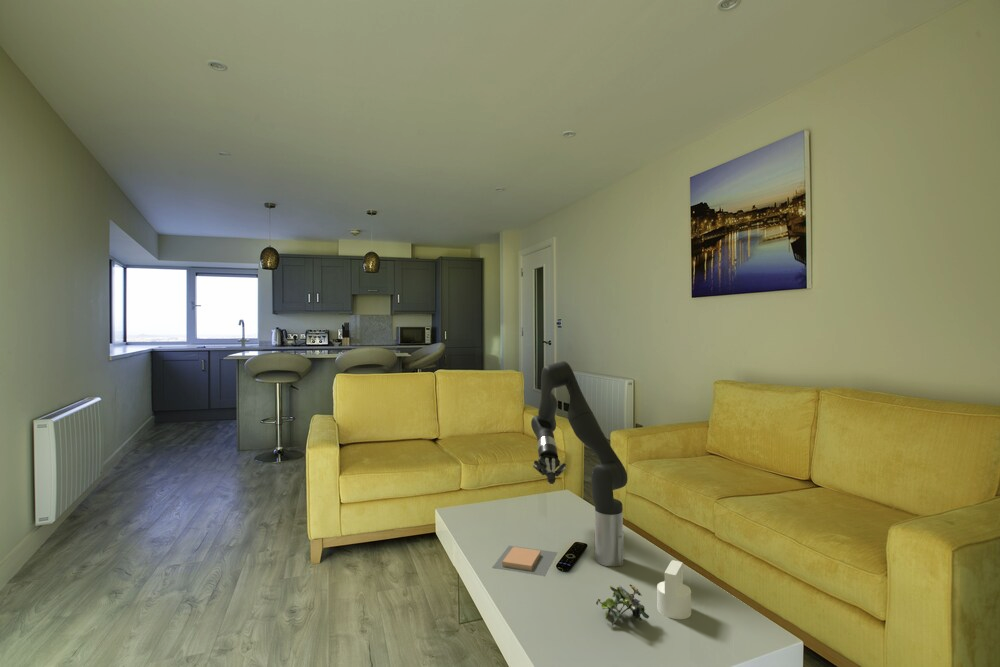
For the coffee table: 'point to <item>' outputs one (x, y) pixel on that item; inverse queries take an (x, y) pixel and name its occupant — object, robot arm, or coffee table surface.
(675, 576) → the cylinder with rectangular tab
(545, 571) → the mat
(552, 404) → the robot arm
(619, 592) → the passion flower
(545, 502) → the coffee table surface
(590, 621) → the coffee table surface
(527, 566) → the tile
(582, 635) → the coffee table surface
